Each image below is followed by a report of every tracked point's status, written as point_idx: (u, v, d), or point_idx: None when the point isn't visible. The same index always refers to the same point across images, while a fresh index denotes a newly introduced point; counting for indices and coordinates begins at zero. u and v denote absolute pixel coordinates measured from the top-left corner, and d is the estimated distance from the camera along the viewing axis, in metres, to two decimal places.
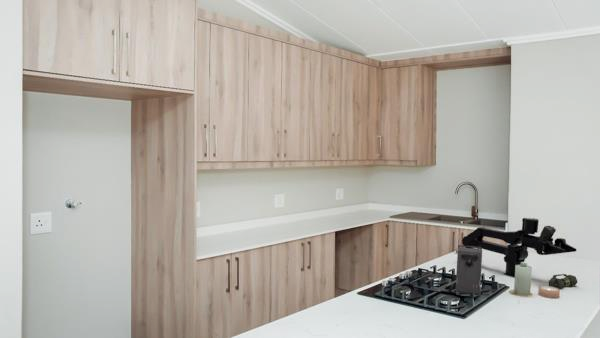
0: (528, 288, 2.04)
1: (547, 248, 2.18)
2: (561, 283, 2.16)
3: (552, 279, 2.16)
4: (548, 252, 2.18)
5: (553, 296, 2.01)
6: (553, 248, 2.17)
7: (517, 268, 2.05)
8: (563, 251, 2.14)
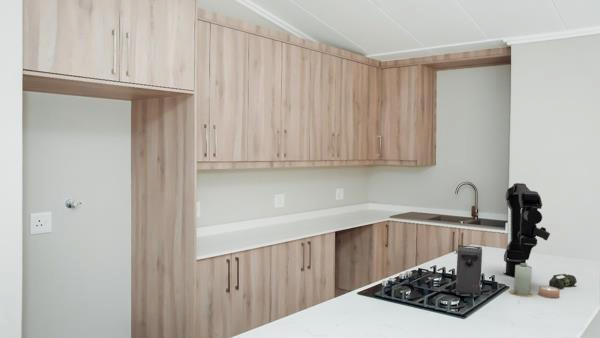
0: (528, 288, 2.04)
1: None
2: (561, 283, 2.16)
3: (552, 279, 2.16)
4: (523, 245, 2.12)
5: (553, 296, 2.01)
6: (528, 250, 2.12)
7: (517, 268, 2.05)
8: (526, 258, 2.13)
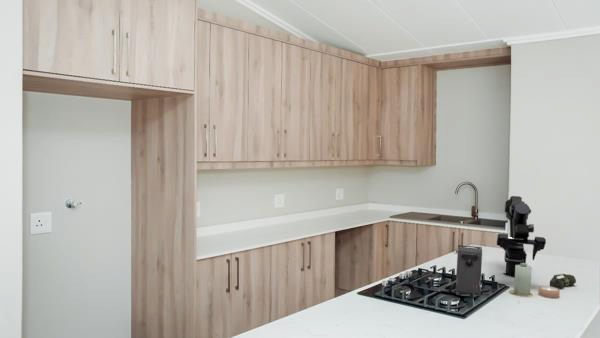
0: (528, 288, 2.04)
1: (504, 244, 2.19)
2: (561, 283, 2.16)
3: (553, 279, 2.16)
4: (504, 247, 2.20)
5: (553, 296, 2.01)
6: (506, 247, 2.17)
7: (517, 268, 2.05)
8: (508, 256, 2.15)
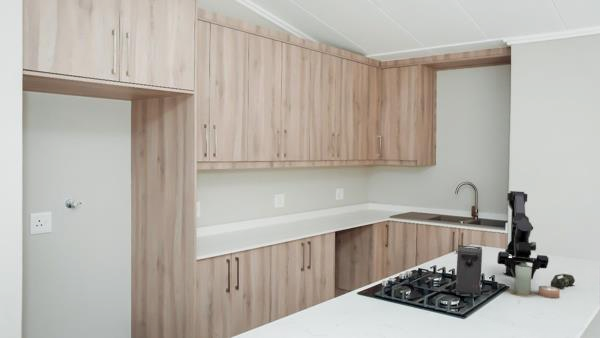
0: (528, 288, 2.04)
1: (508, 262, 2.10)
2: (562, 283, 2.16)
3: (554, 279, 2.15)
4: (508, 266, 2.11)
5: (553, 296, 2.01)
6: (511, 266, 2.08)
7: (517, 268, 2.05)
8: (513, 276, 2.06)
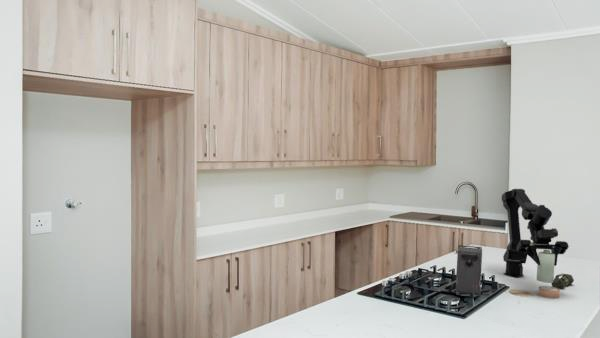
0: (552, 275, 2.02)
1: (530, 250, 2.08)
2: (563, 283, 2.16)
3: (555, 280, 2.15)
4: (529, 254, 2.08)
5: (553, 296, 2.01)
6: (533, 254, 2.06)
7: (542, 255, 2.03)
8: (538, 263, 2.04)
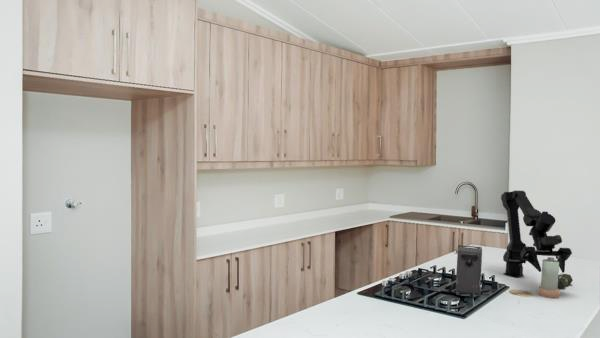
0: (557, 282, 2.03)
1: (530, 257, 2.07)
2: (564, 283, 2.16)
3: None
4: (530, 260, 2.08)
5: (553, 296, 2.01)
6: (534, 261, 2.06)
7: (546, 263, 2.03)
8: (539, 270, 2.04)
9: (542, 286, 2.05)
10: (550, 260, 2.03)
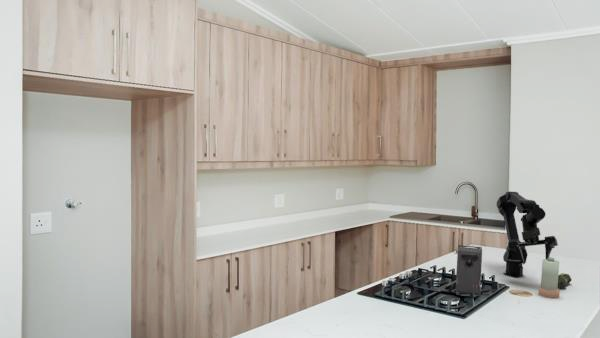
0: (557, 282, 2.03)
1: None
2: (565, 283, 2.16)
3: (558, 280, 2.15)
4: None
5: (553, 296, 2.01)
6: None
7: (546, 263, 2.03)
8: None
9: (542, 286, 2.05)
10: (550, 260, 2.03)
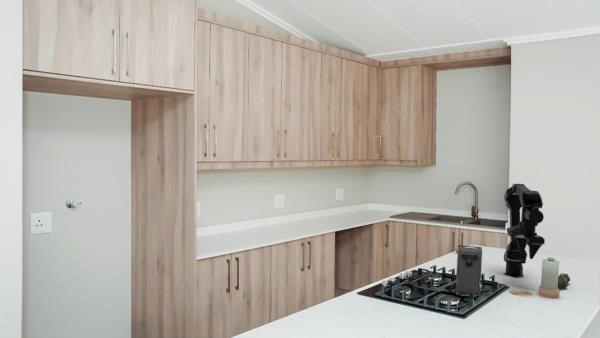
0: (557, 282, 2.03)
1: None
2: (566, 283, 2.16)
3: (559, 280, 2.14)
4: None
5: (553, 296, 2.01)
6: None
7: (546, 263, 2.03)
8: None
9: (542, 286, 2.05)
10: (550, 260, 2.03)
